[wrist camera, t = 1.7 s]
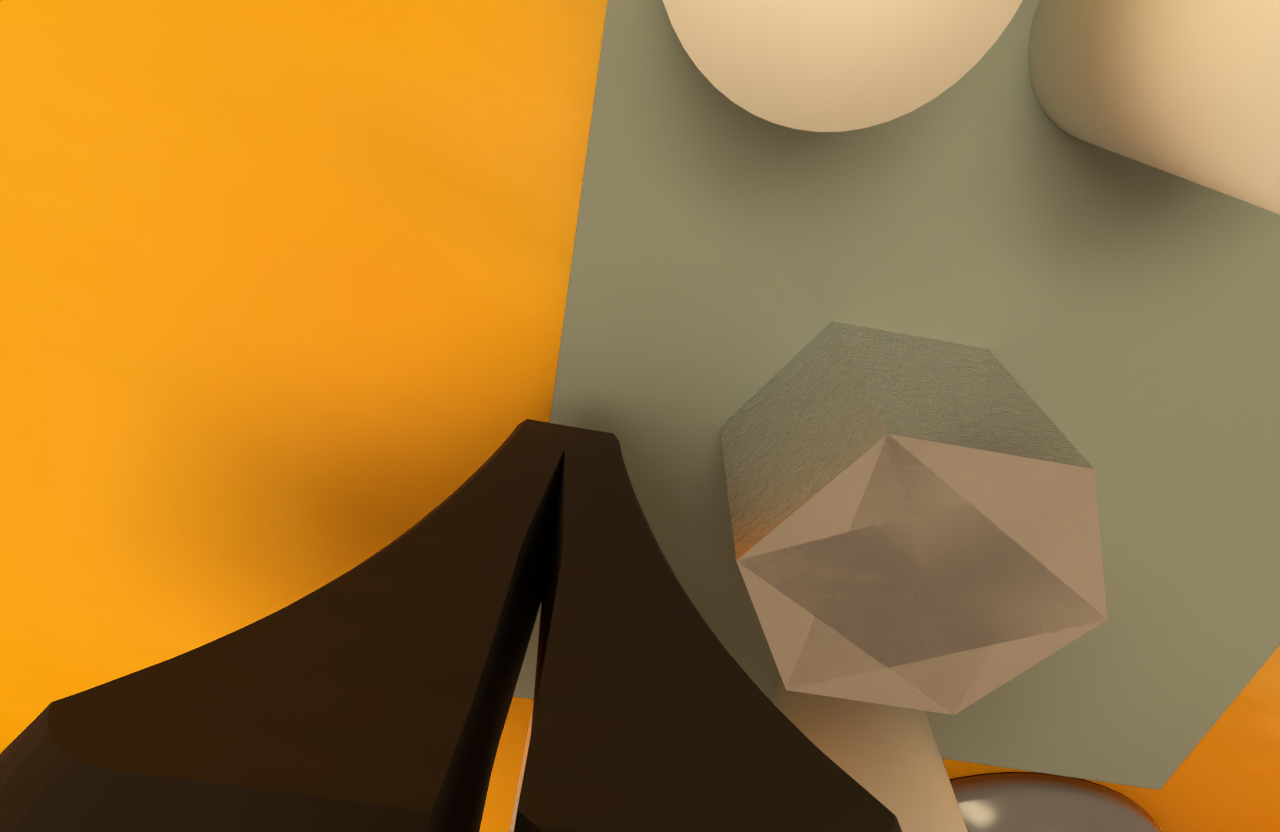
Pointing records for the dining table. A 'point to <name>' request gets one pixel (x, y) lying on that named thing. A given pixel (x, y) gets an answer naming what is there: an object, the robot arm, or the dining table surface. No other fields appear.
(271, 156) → the dining table surface
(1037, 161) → the mat
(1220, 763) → the dining table surface
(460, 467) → the dining table surface
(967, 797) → the grey round coaster
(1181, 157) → the beige capsules
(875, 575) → the faceted crystal gem
